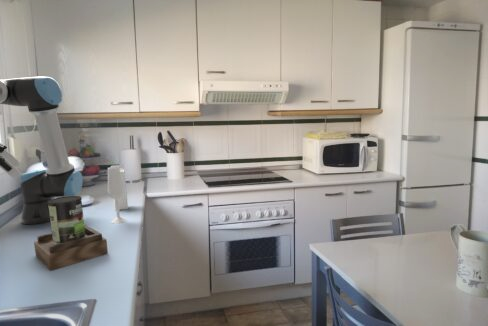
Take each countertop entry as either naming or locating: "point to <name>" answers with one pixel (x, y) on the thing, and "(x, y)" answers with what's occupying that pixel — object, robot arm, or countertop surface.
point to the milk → (123, 199)
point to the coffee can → (66, 218)
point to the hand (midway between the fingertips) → (18, 171)
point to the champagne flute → (115, 190)
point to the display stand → (70, 249)
